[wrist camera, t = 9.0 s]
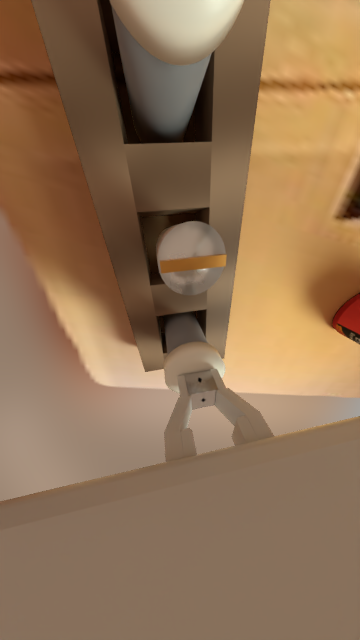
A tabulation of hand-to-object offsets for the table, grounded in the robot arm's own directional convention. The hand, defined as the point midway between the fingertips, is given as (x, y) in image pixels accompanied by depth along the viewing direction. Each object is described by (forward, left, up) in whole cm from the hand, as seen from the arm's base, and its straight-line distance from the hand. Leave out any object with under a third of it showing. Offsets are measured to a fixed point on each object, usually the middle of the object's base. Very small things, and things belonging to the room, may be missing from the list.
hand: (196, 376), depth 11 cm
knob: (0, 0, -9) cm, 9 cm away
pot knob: (-8, 0, -6) cm, 10 cm away
